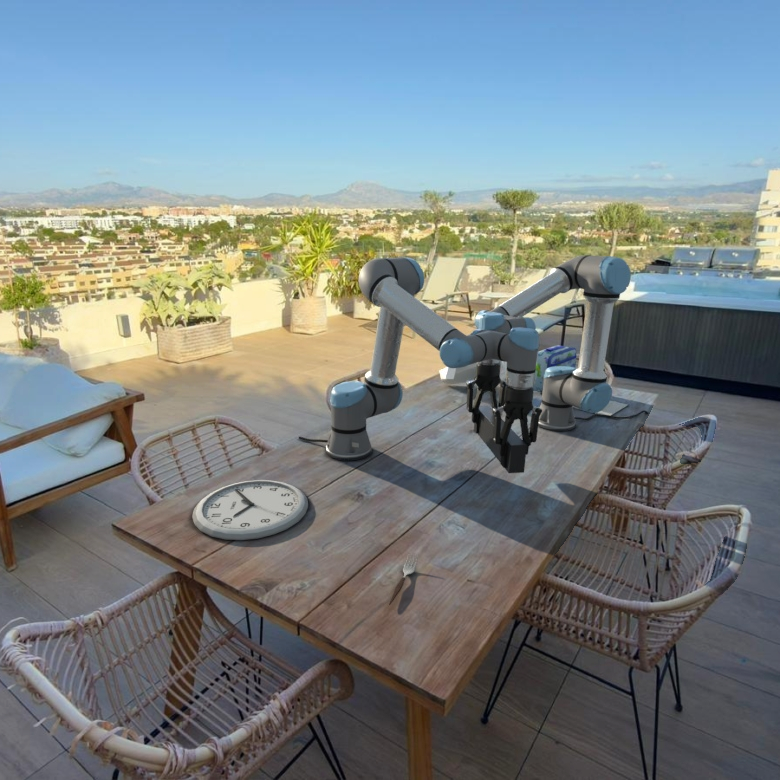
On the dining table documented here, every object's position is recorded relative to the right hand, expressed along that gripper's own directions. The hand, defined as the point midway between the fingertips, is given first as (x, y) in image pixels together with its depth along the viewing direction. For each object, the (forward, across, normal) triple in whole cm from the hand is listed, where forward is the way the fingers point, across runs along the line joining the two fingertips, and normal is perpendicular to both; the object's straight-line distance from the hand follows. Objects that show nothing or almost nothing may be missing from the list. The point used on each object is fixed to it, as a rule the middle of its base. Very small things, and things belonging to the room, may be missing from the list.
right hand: (483, 431), depth 171 cm
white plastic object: (+10, +21, +70) cm, 74 cm away
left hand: (0, 0, -26) cm, 26 cm away
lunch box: (+10, +57, +70) cm, 90 cm away
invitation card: (+10, +68, +45) cm, 82 cm away
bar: (+1, 0, -13) cm, 13 cm away
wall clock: (+9, -72, -25) cm, 77 cm away
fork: (+9, -37, -60) cm, 72 cm away
